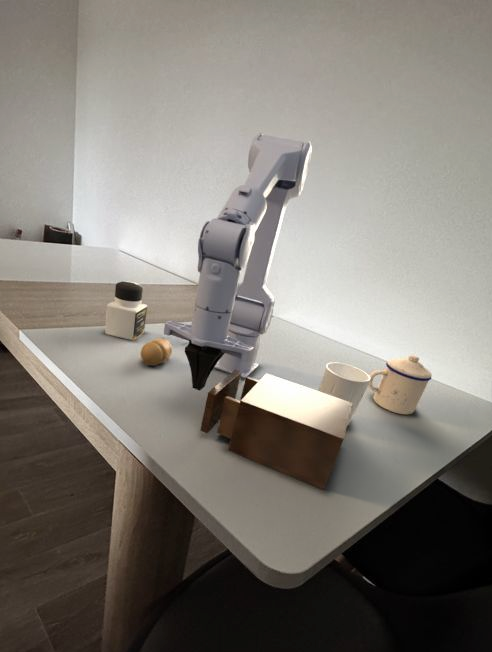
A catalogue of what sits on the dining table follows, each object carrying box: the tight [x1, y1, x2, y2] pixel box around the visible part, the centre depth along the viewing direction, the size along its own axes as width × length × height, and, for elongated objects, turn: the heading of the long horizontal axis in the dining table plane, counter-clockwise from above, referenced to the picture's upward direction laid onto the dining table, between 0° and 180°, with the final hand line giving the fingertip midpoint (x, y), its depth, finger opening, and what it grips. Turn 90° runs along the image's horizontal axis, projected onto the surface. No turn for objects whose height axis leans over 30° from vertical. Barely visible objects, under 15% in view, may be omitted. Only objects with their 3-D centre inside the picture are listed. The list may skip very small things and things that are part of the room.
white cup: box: [318, 362, 371, 427], centre depth 72 cm, size 8×8×10 cm
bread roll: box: [140, 337, 173, 366], centre depth 81 cm, size 8×5×5 cm, turn 156°
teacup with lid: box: [367, 354, 433, 415], centre depth 83 cm, size 12×9×12 cm
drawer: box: [199, 369, 260, 440], centre depth 62 cm, size 15×11×7 cm
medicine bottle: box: [104, 280, 148, 341], centre depth 91 cm, size 7×7×12 cm
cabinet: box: [227, 372, 353, 491], centre depth 60 cm, size 15×13×9 cm
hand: (198, 387), depth 64 cm, fingers closed
